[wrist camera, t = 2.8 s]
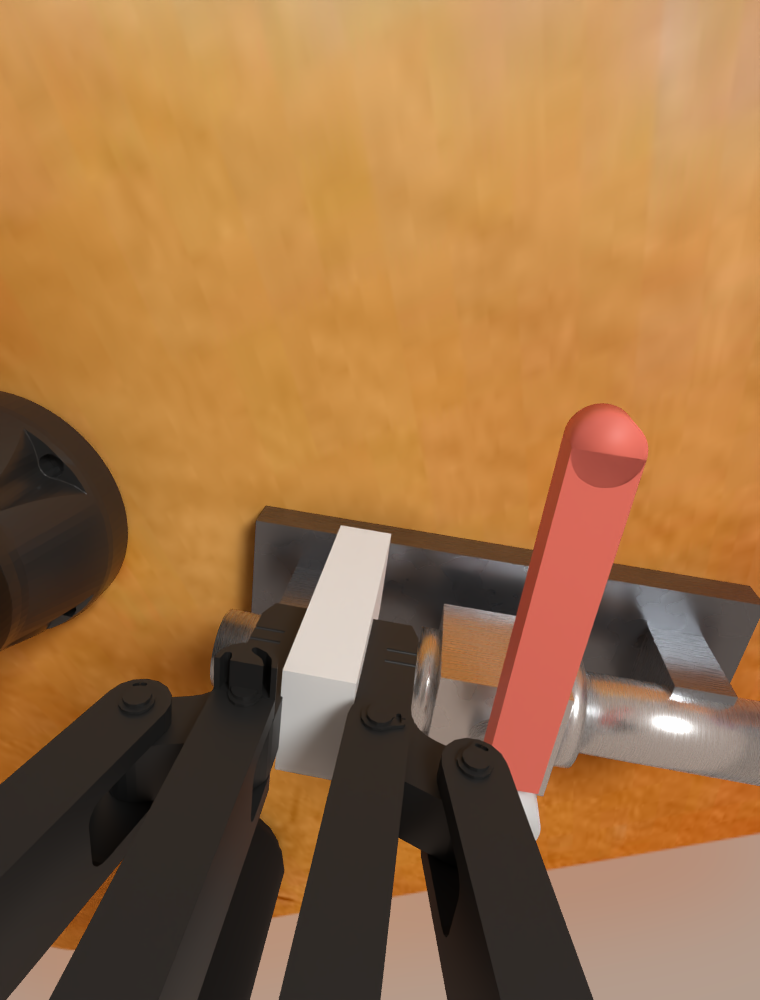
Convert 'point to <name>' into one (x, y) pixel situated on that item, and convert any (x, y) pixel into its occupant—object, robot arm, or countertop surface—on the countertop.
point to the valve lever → (564, 589)
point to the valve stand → (488, 627)
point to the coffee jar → (246, 921)
